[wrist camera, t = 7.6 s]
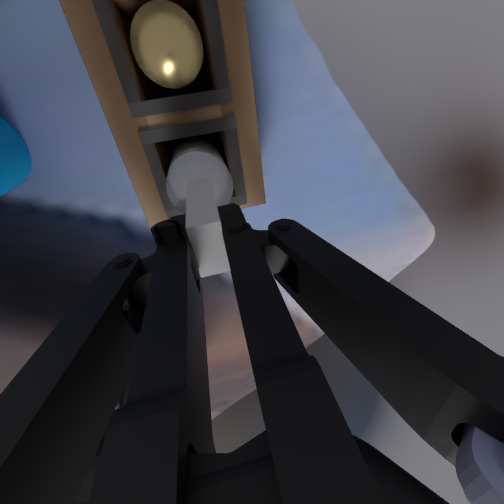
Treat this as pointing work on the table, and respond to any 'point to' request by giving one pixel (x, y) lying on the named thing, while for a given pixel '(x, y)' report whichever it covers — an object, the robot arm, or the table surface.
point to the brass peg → (166, 44)
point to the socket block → (173, 97)
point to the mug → (12, 158)
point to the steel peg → (197, 172)
